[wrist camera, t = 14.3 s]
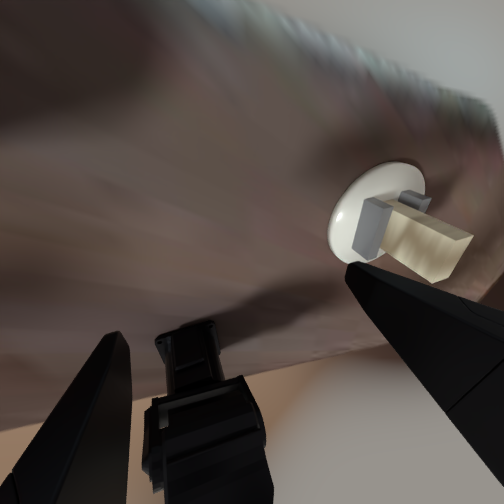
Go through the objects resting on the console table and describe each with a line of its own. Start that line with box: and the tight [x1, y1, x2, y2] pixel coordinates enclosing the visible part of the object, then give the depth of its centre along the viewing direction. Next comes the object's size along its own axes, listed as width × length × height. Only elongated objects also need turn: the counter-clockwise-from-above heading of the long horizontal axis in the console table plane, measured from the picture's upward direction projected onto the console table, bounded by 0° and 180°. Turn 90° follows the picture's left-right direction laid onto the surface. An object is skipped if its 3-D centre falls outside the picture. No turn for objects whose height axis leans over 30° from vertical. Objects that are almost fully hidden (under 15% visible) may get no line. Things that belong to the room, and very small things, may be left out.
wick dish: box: [327, 161, 432, 264], centre depth 25 cm, size 12×12×4 cm
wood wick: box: [380, 199, 474, 283], centre depth 23 cm, size 4×2×8 cm, turn 2°
